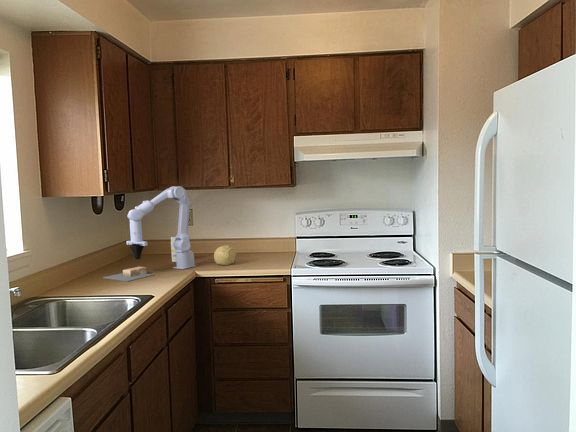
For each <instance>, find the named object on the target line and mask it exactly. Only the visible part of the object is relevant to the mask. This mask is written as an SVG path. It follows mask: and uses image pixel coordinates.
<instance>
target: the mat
mask: <svg viewBox="0 0 576 432" xmlns="http://www.w3.org/2000/svg"><path fill="white" fill-rule="evenodd" d="M153 276H155V274H154V273H153V274H151V273H145V274H141V275H137V276H132V277H128V276H123V272H122V273H118V274H112V275H108V276H103V277H102V279H105V280H106V279H107V280H113V281H119V282H120V281H121V282H132V281H136V280H140V279H144V278H148V277H153Z"/></svg>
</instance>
